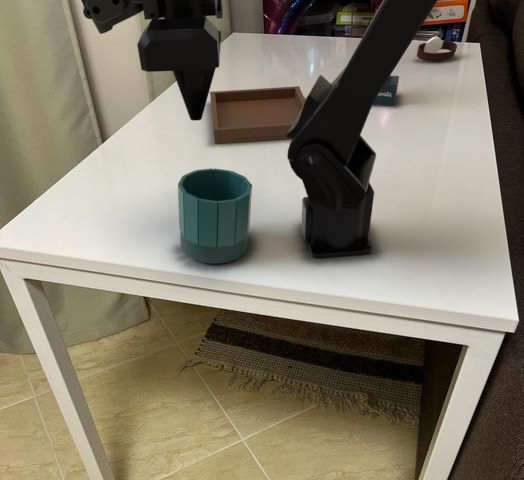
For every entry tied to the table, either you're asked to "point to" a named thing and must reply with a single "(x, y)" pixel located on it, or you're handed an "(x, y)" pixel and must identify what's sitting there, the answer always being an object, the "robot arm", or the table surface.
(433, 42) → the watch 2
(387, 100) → the watch
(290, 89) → the tray
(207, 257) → the teal faceted cup
